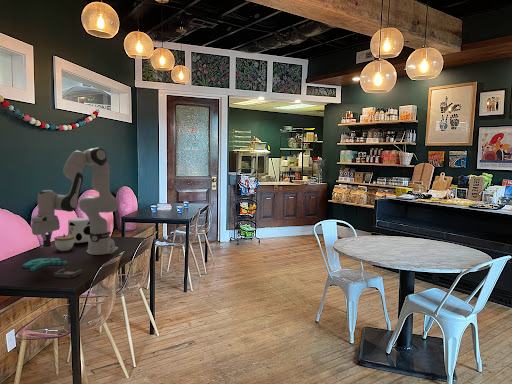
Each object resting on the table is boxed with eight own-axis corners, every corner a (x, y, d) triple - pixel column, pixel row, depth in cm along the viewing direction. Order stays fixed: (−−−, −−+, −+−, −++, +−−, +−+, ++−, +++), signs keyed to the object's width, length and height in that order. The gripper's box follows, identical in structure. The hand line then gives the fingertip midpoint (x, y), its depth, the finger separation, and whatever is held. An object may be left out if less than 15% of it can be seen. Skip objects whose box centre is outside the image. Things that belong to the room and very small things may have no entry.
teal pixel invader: (67, 265, 231) (53, 259, 243) (67, 261, 230) (53, 256, 243) (31, 272, 215) (18, 265, 228) (31, 268, 215) (18, 262, 228)
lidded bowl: (78, 248, 273) (77, 233, 272) (67, 252, 260) (67, 236, 259) (61, 247, 274) (61, 232, 273) (50, 251, 262) (50, 235, 261)
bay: (63, 272, 215) (63, 268, 214) (81, 273, 213) (81, 269, 213) (53, 276, 206) (53, 273, 206) (71, 278, 204) (71, 274, 204)
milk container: (62, 243, 286) (61, 220, 284) (80, 239, 302) (80, 217, 300) (78, 246, 279) (78, 222, 278) (97, 241, 295) (96, 219, 293)
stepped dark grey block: (44, 246, 230) (43, 234, 230) (54, 246, 229) (53, 234, 229) (39, 248, 226) (38, 235, 226) (50, 248, 225) (49, 235, 225)
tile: (66, 273, 214) (66, 271, 214) (76, 274, 213) (76, 272, 213) (59, 276, 208) (59, 274, 208) (69, 277, 207) (69, 275, 207)
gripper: (52, 214, 237) (53, 236, 238) (29, 219, 217) (30, 242, 218) (62, 214, 236) (62, 236, 237) (39, 219, 216) (40, 243, 217)
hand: (46, 239), depth 228 cm, fingers closed on stepped dark grey block, 2 cm apart
